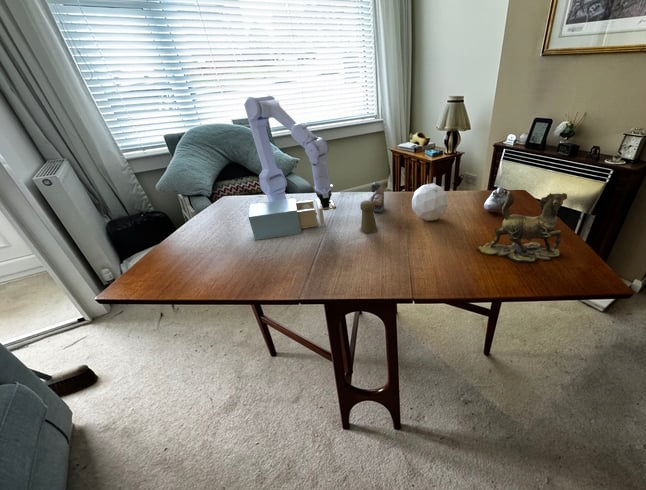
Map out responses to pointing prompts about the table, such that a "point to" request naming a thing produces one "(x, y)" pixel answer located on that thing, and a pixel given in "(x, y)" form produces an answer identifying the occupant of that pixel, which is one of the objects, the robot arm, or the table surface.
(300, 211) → the drawer
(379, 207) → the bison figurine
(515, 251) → the figurine
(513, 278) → the table surface
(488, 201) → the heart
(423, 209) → the geodesic sphere
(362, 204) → the cork
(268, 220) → the cabinet
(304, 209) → the pacifier
